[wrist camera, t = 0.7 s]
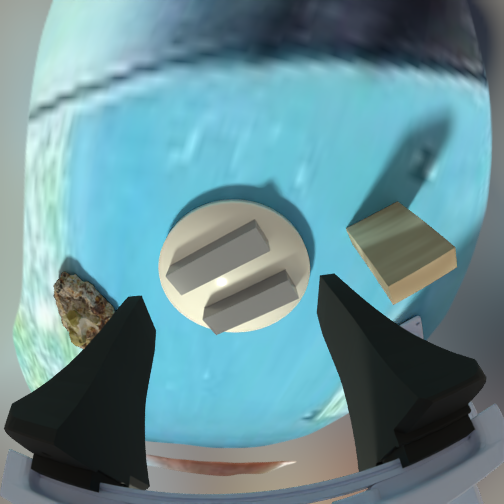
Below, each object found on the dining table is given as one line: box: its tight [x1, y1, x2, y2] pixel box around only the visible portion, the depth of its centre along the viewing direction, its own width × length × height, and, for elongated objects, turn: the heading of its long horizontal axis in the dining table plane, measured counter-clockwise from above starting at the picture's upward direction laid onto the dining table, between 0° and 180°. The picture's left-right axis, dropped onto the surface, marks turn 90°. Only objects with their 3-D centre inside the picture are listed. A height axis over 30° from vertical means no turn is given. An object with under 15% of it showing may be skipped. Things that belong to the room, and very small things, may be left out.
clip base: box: [159, 199, 310, 335], centre depth 22 cm, size 12×12×2 cm
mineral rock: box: [54, 272, 115, 349], centre depth 25 cm, size 11×4×8 cm
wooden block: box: [346, 201, 457, 305], centre depth 18 cm, size 2×5×8 cm, turn 119°
